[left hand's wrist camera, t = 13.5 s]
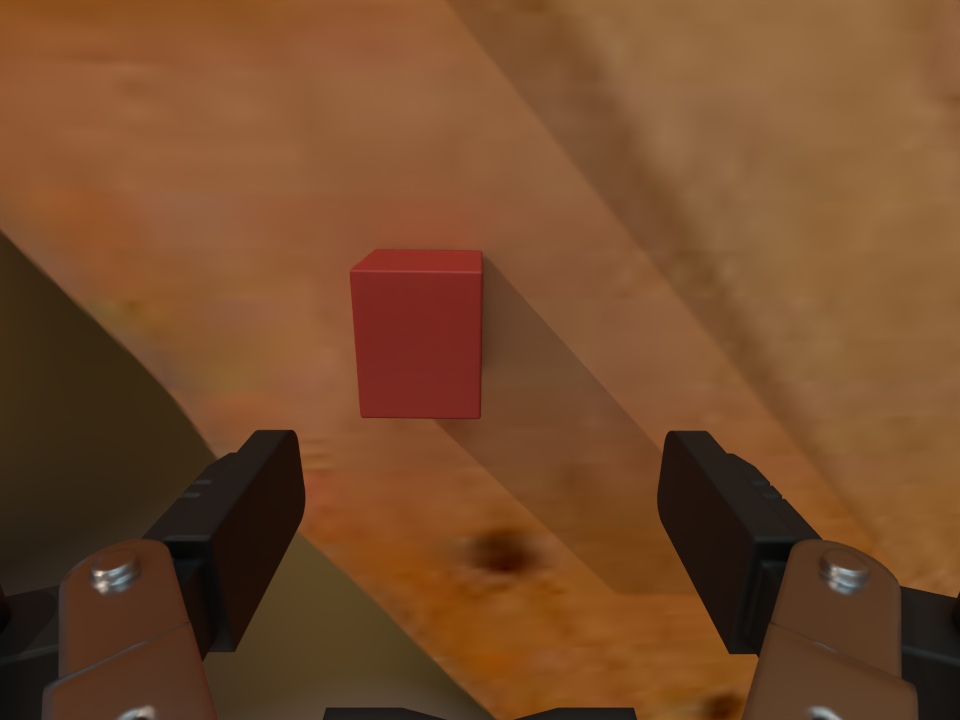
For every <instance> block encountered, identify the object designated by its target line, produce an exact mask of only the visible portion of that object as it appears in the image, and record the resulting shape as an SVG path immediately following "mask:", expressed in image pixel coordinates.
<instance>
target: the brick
mask: <svg viewBox="0 0 960 720" xmlns="http://www.w3.org/2000/svg"><path fill="white" fill-rule="evenodd" d="M350 283H351V296H352V309H353V322H354V335H355V349H356V362H357V375H358V388H359V401H360V414H361V417H362V418H434V419H480V417H481V366H482V300H483V262H482V252H481V251H459V250H382V249H376V250H374V251H373V252H372V253H371V254H369V255H368V256H367V257H366V258H364V259H363V260H362V261H361V262H360V263H358V264H357V265H356V266H355V267H354V268H352V269H351V270H350Z"/></svg>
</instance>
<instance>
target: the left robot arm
mask: <svg viewBox="0 0 960 720" xmlns="http://www.w3.org/2000/svg"><path fill="white" fill-rule="evenodd" d="M657 503H658V511H659V516H660V519H661V522H662V524H663V526H664V528H665V530H666V532H667V534H668V536H669V538H670V540H671V542H672V544H673V546H674V547H675V549H676V551H677V553H678V555H679V557H680V559H681V561H682V563H683V565H684V567H685V569H686V571H687V573H688V575H689V577H690V578H691V580H692V582H693V584H694V586H695V588H696V590H697V592H698V594H699V596H700V598H701V600H702V602H703V604H704V606H705V608H706V610H707V611H708V613H709V615H710V617H711V619H712V621H713V623H714V625H715V627H716V629H717V631H718V633H719V635H720V637H721V639H722V641H723V642H724V644H725V646H726V648H727V650H728V652H729V654H756V655H757V656H758V658H759V660H758V663H757V667H756V670H755V674H754V677H753V681H752V684H751V688H750V691H749V695H748V698H747V702H746V705H745V709H744V712H743V715H742V719H741V720H960V592H959V594H958V597H957V598H954V597H949V596H944V595H940V594H935V593H931V592H926V591H921V590H917V589H912V588H907V587H903V586H900V585H899V583H898V581H897V579H896V578H895V576H894V575H893V574H892V573H891V572H890V571H889V570H888V569H887V568H886V567H885V566H884V565H883V564H881V563H880V562H879V561H877V560H876V559H874V558H873V557H871V556H869V555H867V554H866V553H864V552H862V551H860V550H857V549H855V548H853V547H850V546H847V545H844V544H841V543H838V542H833V541H829V540H823V539H822V538H821V537H820V536H819V535H818V534H817V533H816V532H815V531H814V530H813V528H812V527H811V526H810V525H809V524H808V523H807V522H806V521H805V520H804V519H803V518H802V517H801V516H800V514H799V513H798V512H797V511H796V510H795V509H794V508H793V507H792V506H791V505H790V504H789V503H788V502H787V500H786V499H782V495H781V494H780V493H779V492H778V491H777V490H776V489H775V487H774V486H770V482H769V481H768V480H767V479H766V478H765V477H764V476H763V475H762V473H761V472H760V471H759V470H758V469H757V468H756V467H755V466H753V465H751V464H750V463H748V462H746V461H745V460H743V459H741V458H740V457H738V456H736V455H735V454H727V453H726V452H725V451H724V450H723V449H722V448H721V446H720V445H719V444H718V443H717V442H716V441H715V439H714V438H713V437H712V436H711V435H710V434H709V433H708V432H707V431H669V432H668V434H667V435H666V438H665V443H664V450H663V457H662V464H661V471H660V479H659V486H658V494H657ZM304 508H305V487H304V480H303V472H302V465H301V458H300V451H299V443H298V438H297V435H296V433H295V432H294V431H293V430H257V431H255V432H254V433H253V434H252V435H251V436H250V438H249V439H248V440H247V441H246V442H245V443H244V445H243V446H242V447H241V448H240V449H239V450H238V452H237V453H229V454H227V455H225V456H224V457H222V458H220V459H219V460H217V461H215V462H214V463H212V464H210V465H209V466H207V468H206V469H205V470H204V471H203V472H202V473H201V474H200V475H199V476H198V477H197V478H196V480H195V481H194V484H191V485H190V486H189V487H188V488H187V489H186V490H185V492H184V493H183V494H182V497H181V498H178V499H177V500H176V501H175V502H174V503H173V505H172V506H171V507H170V508H169V509H168V510H167V511H166V512H165V513H164V514H163V515H162V516H161V518H160V519H159V520H158V521H157V522H156V523H155V524H154V525H153V526H152V527H151V528H150V530H149V531H148V532H147V533H146V534H145V535H144V536H143V537H142V538H141V539H139V540H131V541H127V542H122V543H119V544H116V545H113V546H110V547H107V548H105V549H103V550H100V551H98V552H96V553H94V554H93V555H91V556H89V557H87V558H86V559H84V560H83V561H81V562H80V563H79V564H78V565H76V566H75V567H74V568H73V569H72V570H71V571H70V572H69V573H68V574H67V575H66V576H65V578H64V579H63V581H62V583H61V585H59V586H54V587H49V588H45V589H40V590H35V591H31V592H26V593H21V594H17V595H12V596H7V597H5V595H4V592H3V590H2V587H1V585H0V720H219V719H218V715H217V712H216V709H215V705H214V702H213V698H212V695H211V691H210V688H209V684H208V681H207V677H206V674H205V670H204V667H203V663H202V662H203V660H204V658H205V657H206V655H207V653H208V652H235V650H236V648H237V646H238V644H239V642H240V640H241V638H242V637H243V635H244V633H245V631H246V629H247V627H248V625H249V623H250V621H251V619H252V617H253V615H254V613H255V611H256V609H257V607H258V605H259V603H260V601H261V599H262V597H263V595H264V593H265V591H266V589H267V587H268V585H269V583H270V581H271V580H272V577H273V576H274V574H275V572H276V570H277V568H278V566H279V564H280V562H281V560H282V558H283V556H284V554H285V552H286V550H287V548H288V546H289V544H290V542H291V540H292V538H293V536H294V534H295V532H296V530H297V529H298V527H299V525H300V523H301V520H302V517H303V514H304ZM323 720H445V719H442V718H438V717H434V716H431V715H427V714H423V713H420V712H416V711H412V710H409V709H405V708H326V711H325V714H324V718H323ZM515 720H637V718H636V714H635V711H634V708H555V709H551V710H548V711H544V712H540V713H537V714H533V715H529V716H526V717H522V718H518V719H515Z"/></svg>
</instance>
